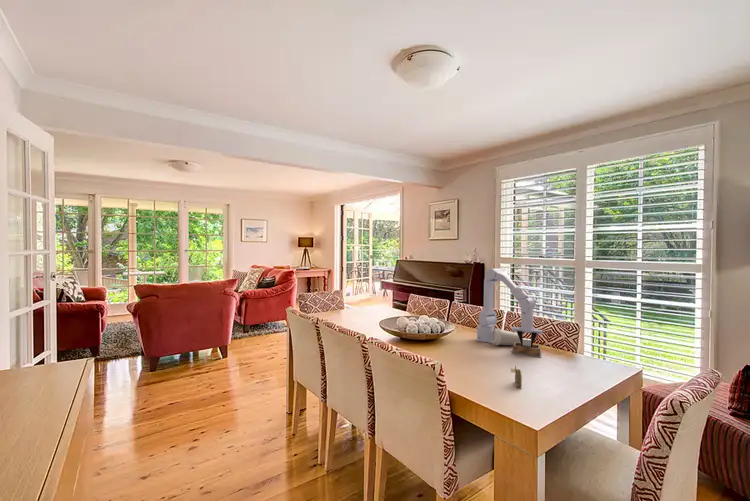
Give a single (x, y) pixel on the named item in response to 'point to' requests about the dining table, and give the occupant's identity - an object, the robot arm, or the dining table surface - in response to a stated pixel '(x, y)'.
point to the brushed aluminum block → (526, 342)
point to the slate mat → (527, 354)
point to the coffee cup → (504, 337)
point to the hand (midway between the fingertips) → (526, 346)
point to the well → (526, 349)
